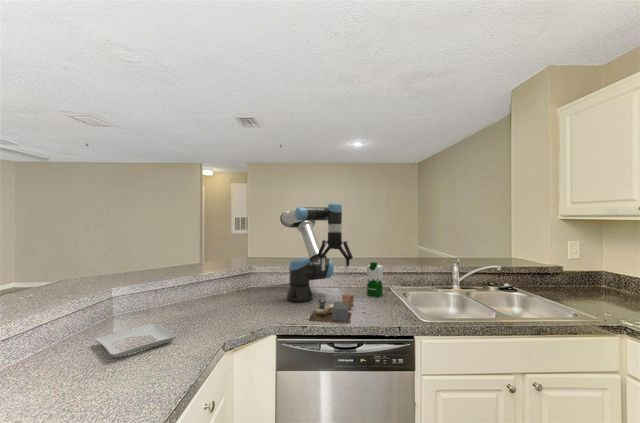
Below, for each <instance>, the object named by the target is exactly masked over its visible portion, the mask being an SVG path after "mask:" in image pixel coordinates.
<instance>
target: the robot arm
mask: <svg viewBox="0 0 640 423" xmlns="http://www.w3.org/2000/svg"><path fill="white" fill-rule="evenodd" d="M342 208H343V206H342V204H341V203H336V202H335V203H333V202H331V203H328V205H327V207H324V206H322V207H321V206H318V207H317V206H315V207H313V206H311V207H309V206H299V207H296V208H295V210H285V211H284V212H282V213H281V214H280V216H279V220H280V223H281V225H283V226H284V227H286V228H290V229H291V228H293V229H295V228H296V229H297V231H298V232H299V233H300V234H301V236H302V239H303V243H304V245H305V248H306V249H305V250H306V251H307V253H308V257H300V258H295V259H292V260H291V261H290V262H289V268H288V269H289V286H288V290H287V293H286V299H285V300H286V301H287V302H290V303H295V304H296V303H298V304H300V303H301V304H302V303H309V302H311V301H313V292H312V289H311V287H310V281H316V280H317V281H318V280H326V279H330V278H332V276H333V274H334V267H335V266H334V262H333V259H332V258H328V257H327V254H328V252H329V251H330V250H338V251H339V252H340V253H341V255H342V256H343V257H344V258H345V259H344V273H346V274H347V273H348V268H349V266H350V260H352V259H353V258H354V257H353V256H354V255H353V254H352V252H351V249H350V248H349V246H348V240H345V241H343V240H342V238H343V237H342V236H343V233H342V229H343V228H342V227H343V223H342V220H343V210H342ZM316 221H322V222H323V221H325V222H327V231H328V232H327V240H326V239H325V240H322V241H321V245H320V243H319V241H318V237H317V235H316V232H315V230H314V226H315V225H316ZM326 245H328V246H327V247H326ZM342 246H344V248H343V247H342ZM325 247H326V249H325ZM324 249H325V250H324Z"/></svg>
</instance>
